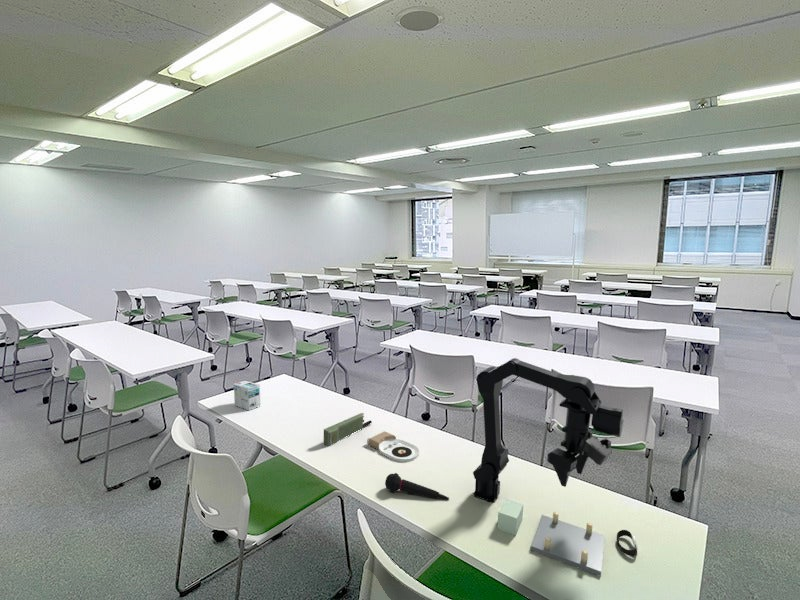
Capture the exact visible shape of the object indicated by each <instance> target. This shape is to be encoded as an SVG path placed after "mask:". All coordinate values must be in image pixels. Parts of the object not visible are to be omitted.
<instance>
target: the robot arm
mask: <svg viewBox="0 0 800 600" xmlns="http://www.w3.org/2000/svg"><path fill="white" fill-rule="evenodd" d="M511 376H515V377H518V378H521V379H523V380H527V381H529V382H532V383H535V384H538V385H540V386H543V387H545V388H548V389H551V390H553V391H556V392H557V393H558V394H559V395H561V396H562V397H563V398H564V399H562V400H561V402H559V404H558V405H559V407H561V408H562V407H563V408H566V419H565V425H564V426H562V428H561V431H562V432H563V433H564V437H563V440H561V441H560V446H561V447H563V448H565V449H566V450H564V449H562V448H559V447H558V448H555V449H553V450H552V451H550V452H548V453H547V458H546V461H547V463H549V464H550V465H552V466H553V469H554V471H555V473H556V475H557V479H558V480H559V483H560V485H561V486H562V487H564V488H565V487H567V484H568V482H569V477H570V473H571V472H572V471H574V470H576V473H577V474H578V475H582V474H583V471H584V470H585V469H584V468H585V467H586V465H587V463H588V460H589V458H590V459H591V461H594V463H595V464H597V465H598V466H601V465H603V464H604V463H605V462H606V461H607V460H608V458H609V457H610V455H611V454H612V453H613V448H612V441H611V439H609V438H607V437H605V438H602V439H600V438H598V437H596V436H594V435H593V434H594V433H593V430H595V432H598V433H601V434H605V435H609V436H614V437H617V438H621V436H622V431H623V427H624V419H623V415H624V413H623V412H624V411H623V409H621V408H614V407H610V406H609V407H608V406H605V405H602V400H601V399H600V397H599V395H598V394H597V393H596V388H595V384H594V383H593V381H592V380H591V379H590V378H588V377H585V376H580V375H575V374H562V373H558V372H555V371H553V370H549V369H546V368H543V367H540V366H538V365H535V364H532V363H528V362H526V361H523V360H520V359H519V358H517V357H515V358H511V359H509V360H508V361H506V362H505V363H503V364H500V365H499V366H497V367H496V366H490V367H488V368H486V369H484V370H482V371H480V372H479V373H478V374H477V375H476V386H477V389H478V392H479V395H480V396H481V399H482V404H483V423H484V441H485V442H484V444H485V445H484V448H483V452H482V455H481V462H480V464H479V465H478V467H476V468H475V470H474V471H473V472H472V474H473V478H474V480H475V484H474V485H475V486H474V487H475V488H474V492H473V494H472V496H473V497H476V498H479V499H482V500H484V501H488V502H491V503H494V502H495V501H496V499H497V498H498V497H499V495H500V489H501V481H500V480H499V475H500V474H501V473H502V471H503V470H504V469H505V468H506V467H507V465H508V463H509V462H510V459H509V449H508V448H504V446H503V445H502V441H501V437H502V436H501V420H500V419H501V417H500V414H501V413H500V400H499V399H500V395H501V392H502V388H503V382H504V380H505V379H507V378H509V377H511ZM591 416H592V417H591ZM590 422H591V426H592V429H593V430H592V429H590Z"/></svg>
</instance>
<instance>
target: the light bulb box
mask: <svg viewBox="0 0 800 600" xmlns="http://www.w3.org/2000/svg"><path fill="white" fill-rule="evenodd" d="M233 393H234V406H235V405H236V406H235V407H237V406H238V408H240V407H241V409H243V408H244V409H243V410H246V411H249V410H250V411H252V410H254V408H255V409H256V407H257V408H259V407H258V406H260V405H261V385H260V384H259V383H255V382H252V381H248V380H242V381H239V382H236V383H233ZM260 407H261V406H260ZM251 409H252V410H251Z"/></svg>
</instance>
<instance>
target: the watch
mask: <svg viewBox="0 0 800 600" xmlns="http://www.w3.org/2000/svg"><path fill="white" fill-rule="evenodd" d="M621 537H629V538H630V539H631V541H632V544H633V548H634V549H631V550H630V549H627V548H625V547H623V546H622V545H621V543H620V538H621ZM616 542H617V546H618V547H619V549H620V551H621V552H622V553H623V554H625V555H626V556H628V557H634V556H636V555H637V553H638V549H639V548H638V544H637V540H636V537H635V535H633V534H632V533H631V532H630V531H629V530H627V529H621V530H619V531H618V532H617V533H616Z"/></svg>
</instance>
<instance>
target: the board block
mask: <svg viewBox="0 0 800 600" xmlns="http://www.w3.org/2000/svg"><path fill="white" fill-rule="evenodd" d="M523 514H524V504H523V503H521V502H518V501H516V500H515V501H514V500H511V499H509V498H507V497H506V498H505V499H504V501H503V502H502V504H501V506H500V508H499V510H498V512H497V529H498V530H500V531H502V532H505V533H509V534H510V535H513V536H517V534H518V532H519V529H520V527H521V525H522V522H523V516H524V515H523Z"/></svg>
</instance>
